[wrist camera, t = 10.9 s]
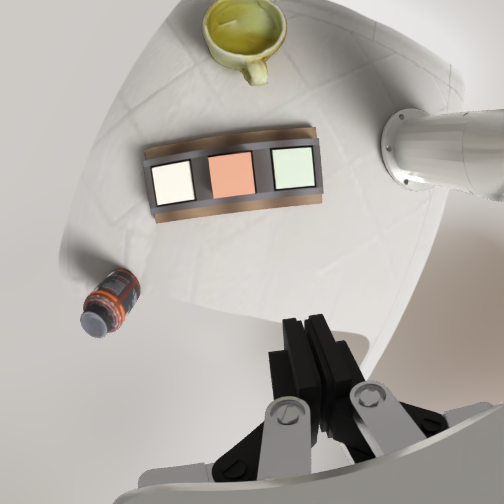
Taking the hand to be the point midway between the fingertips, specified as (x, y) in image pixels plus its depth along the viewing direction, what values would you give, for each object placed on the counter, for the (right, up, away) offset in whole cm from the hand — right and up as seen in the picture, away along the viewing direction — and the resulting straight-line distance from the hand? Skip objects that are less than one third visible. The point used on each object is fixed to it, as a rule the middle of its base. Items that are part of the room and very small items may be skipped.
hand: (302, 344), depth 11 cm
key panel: (-5, +14, +24) cm, 28 cm away
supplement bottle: (-22, -1, +29) cm, 36 cm away
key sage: (+3, +14, +22) cm, 27 cm away
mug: (-3, +30, +19) cm, 35 cm away
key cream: (-12, +13, +23) cm, 28 cm away
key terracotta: (-4, +13, +21) cm, 25 cm away
